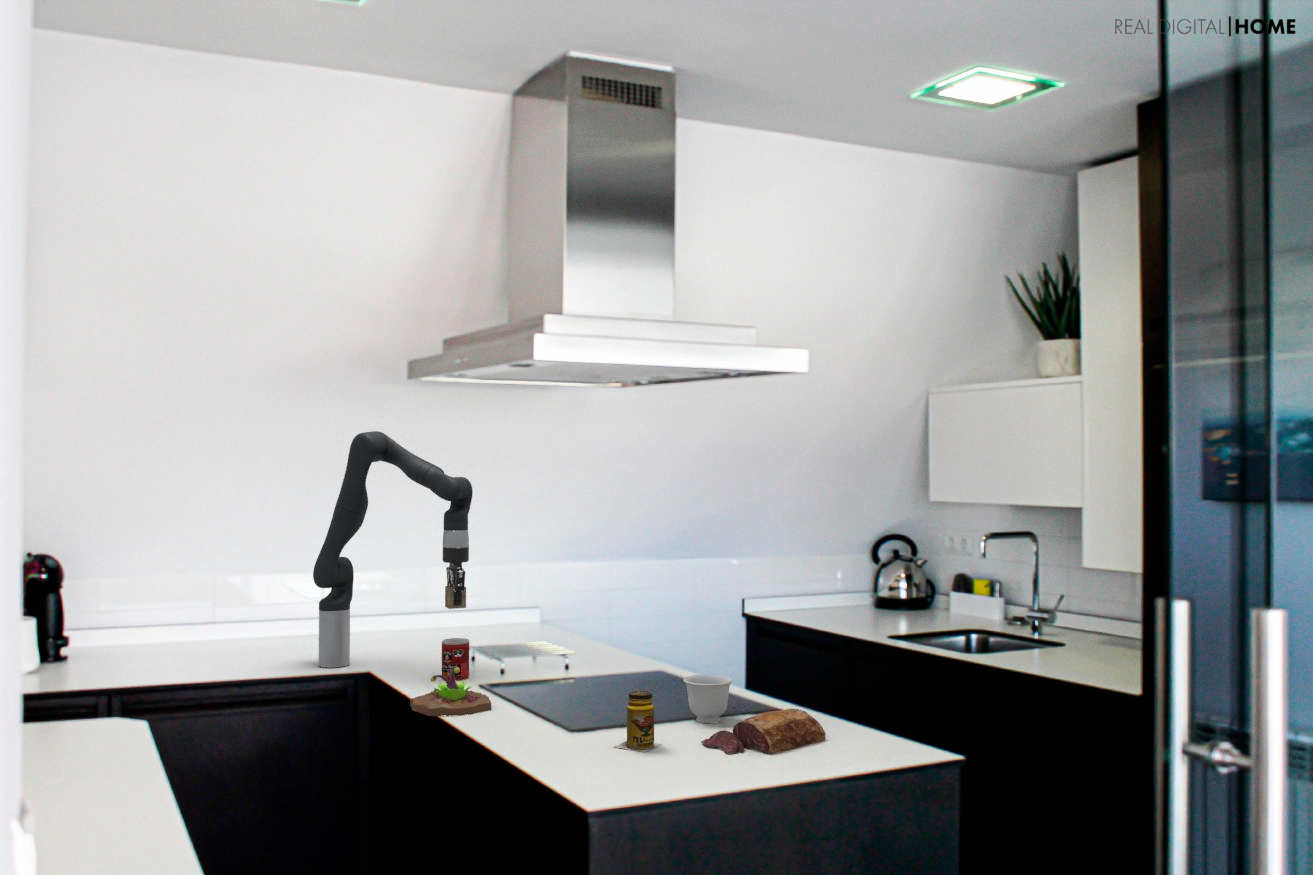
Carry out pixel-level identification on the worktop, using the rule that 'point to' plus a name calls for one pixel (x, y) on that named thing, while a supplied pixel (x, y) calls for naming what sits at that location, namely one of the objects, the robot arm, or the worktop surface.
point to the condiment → (640, 722)
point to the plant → (450, 699)
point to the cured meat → (770, 733)
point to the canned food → (455, 657)
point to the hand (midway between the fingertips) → (455, 603)
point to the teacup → (708, 696)
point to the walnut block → (450, 598)
